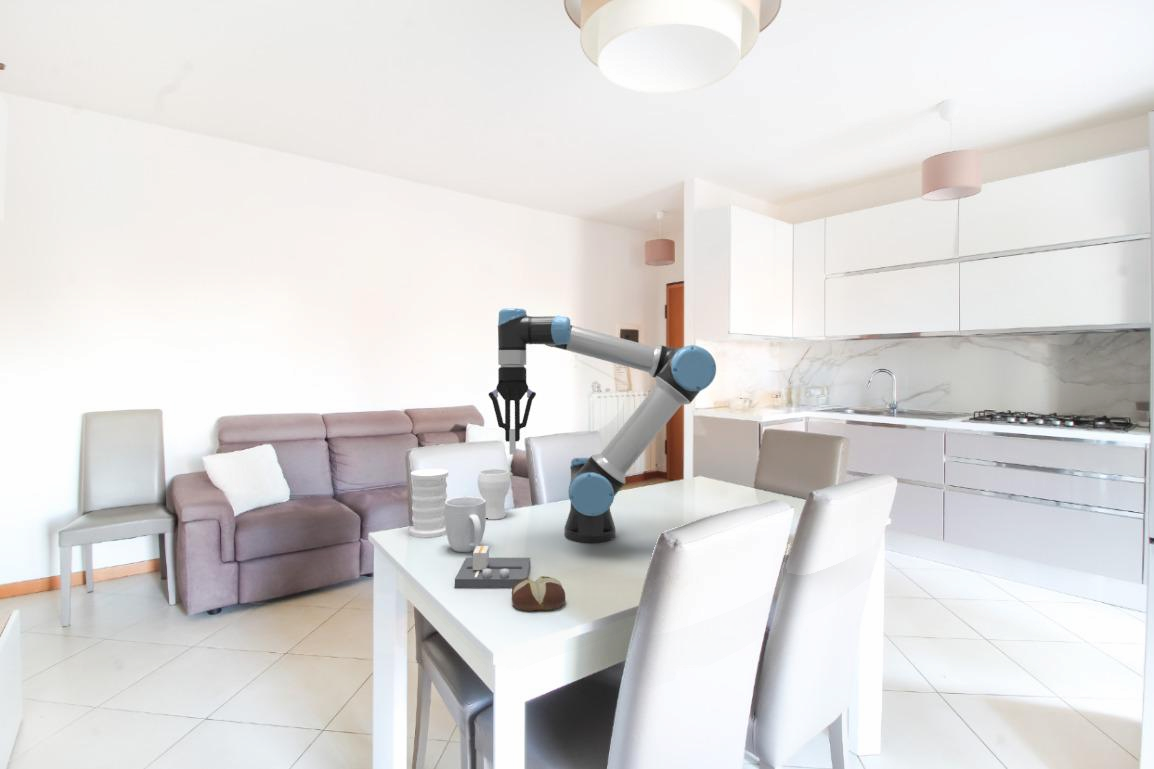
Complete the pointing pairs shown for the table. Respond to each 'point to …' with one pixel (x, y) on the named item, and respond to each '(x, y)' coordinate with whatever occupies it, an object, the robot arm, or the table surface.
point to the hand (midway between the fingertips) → (512, 453)
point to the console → (493, 573)
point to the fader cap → (480, 557)
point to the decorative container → (428, 502)
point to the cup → (494, 491)
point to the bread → (538, 594)
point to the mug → (465, 522)
